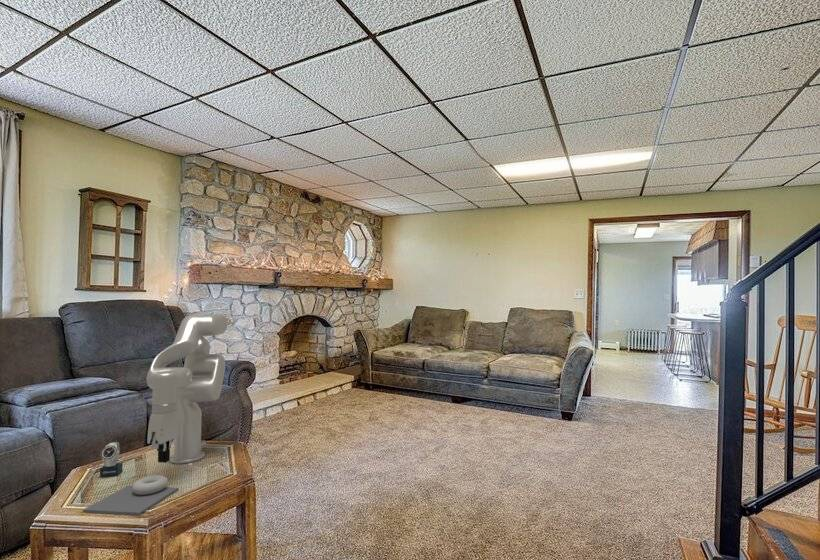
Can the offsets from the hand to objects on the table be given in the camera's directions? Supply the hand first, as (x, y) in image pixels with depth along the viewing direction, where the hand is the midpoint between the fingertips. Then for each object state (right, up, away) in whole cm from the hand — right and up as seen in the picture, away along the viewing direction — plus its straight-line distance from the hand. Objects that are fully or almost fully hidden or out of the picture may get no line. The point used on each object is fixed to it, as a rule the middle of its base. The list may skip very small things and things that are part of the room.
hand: (163, 461), depth 144 cm
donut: (0, -5, -3) cm, 5 cm away
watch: (-23, -8, +7) cm, 25 cm away
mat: (-1, -6, -14) cm, 15 cm away
